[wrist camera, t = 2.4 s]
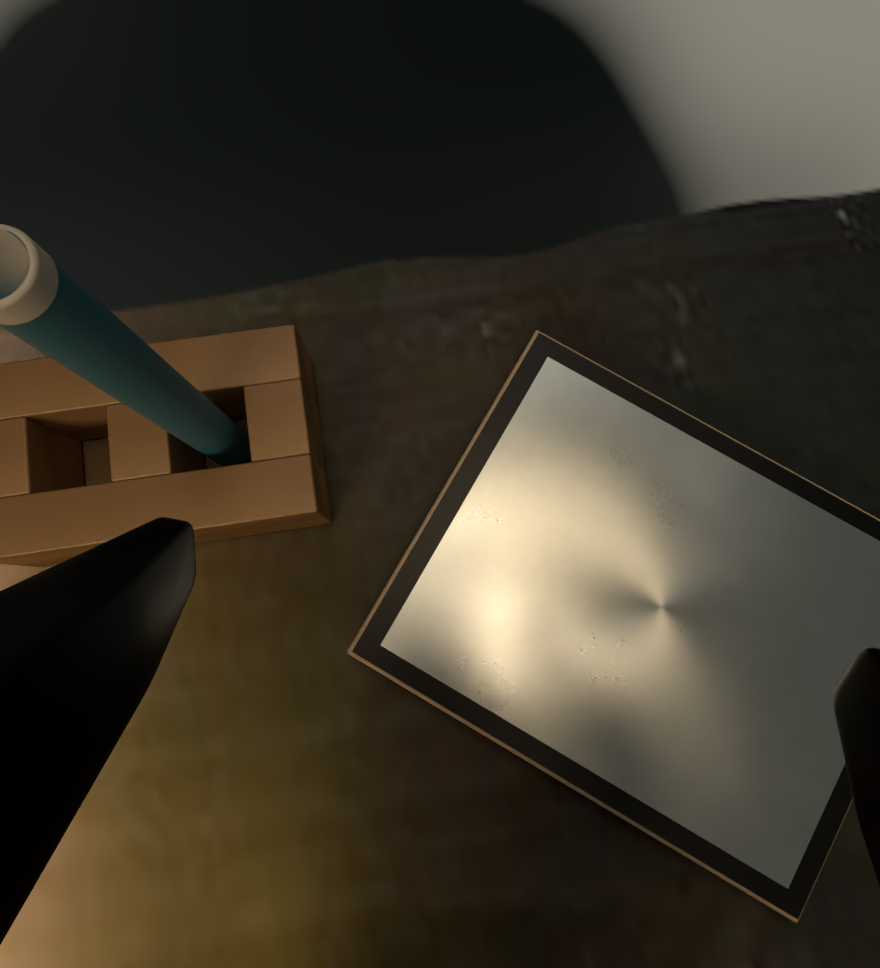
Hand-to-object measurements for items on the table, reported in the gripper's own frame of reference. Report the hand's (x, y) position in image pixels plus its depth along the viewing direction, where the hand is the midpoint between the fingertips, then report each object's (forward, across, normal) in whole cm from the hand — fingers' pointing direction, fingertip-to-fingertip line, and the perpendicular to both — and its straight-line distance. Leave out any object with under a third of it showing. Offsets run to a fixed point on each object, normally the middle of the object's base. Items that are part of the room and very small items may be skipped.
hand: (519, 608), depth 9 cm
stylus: (+14, +9, +7) cm, 17 cm away
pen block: (+13, +11, +7) cm, 18 cm away
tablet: (+12, -6, +9) cm, 16 cm away
